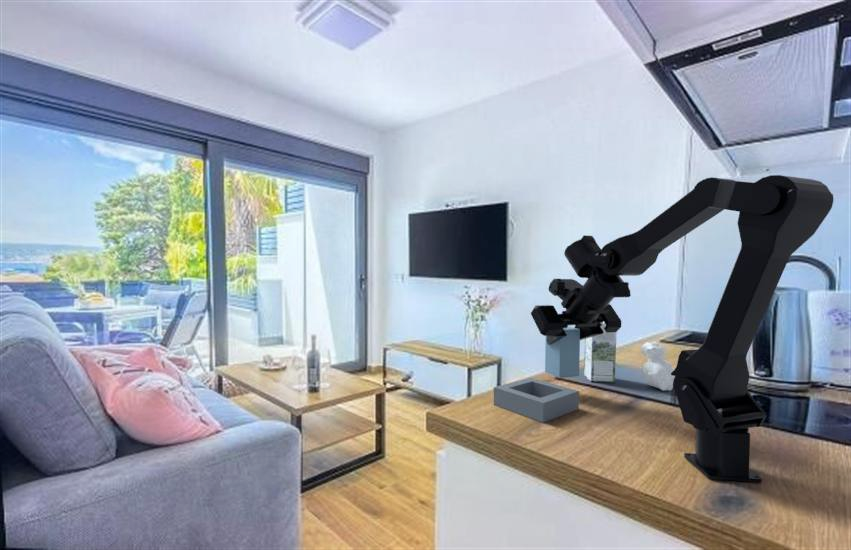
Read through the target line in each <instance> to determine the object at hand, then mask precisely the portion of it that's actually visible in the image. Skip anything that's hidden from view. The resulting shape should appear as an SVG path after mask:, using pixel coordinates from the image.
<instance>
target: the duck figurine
mask: <svg viewBox="0 0 851 550" xmlns="http://www.w3.org/2000/svg"><path fill="white" fill-rule="evenodd" d="M640 350H641V354H642V355H643V356H647V357H648V359H647V361H646V362H645V363H643V369H642V370H643V371H642V377H643V379H644V381H645V383H646V384H647V385H648V386H650V387H654V388H657V389H660V390H661V391H663V392H664V391H669V392H670V391H672V390H673V380H674V377H675V376H672V375H671V373H672V372H673V371H674V368H673V366H672V364H671V363H670V362H669V361H668V360H666V359H665V356H666V353H667V349H666V347H663V345H660V343H658V342H657V341H652V342H648V341H646V342H645V343H644V344H643V345H642V346H641V347H640Z"/></svg>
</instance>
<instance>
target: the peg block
mask: <svg viewBox="0 0 851 550" xmlns="http://www.w3.org/2000/svg"><path fill="white" fill-rule="evenodd" d="M564 331H565V333H566V335H567V336H565V337H564V338H562V339H560V340H558V341H556V342H554V343H552V344H550V345H548V343H547V341H546V340H547V336H545V349H544V350H545V355H544V357H545V358H544V372H545V373H547V374H549V375H550V376H551V375H552V376H554V377H555V378H558V379H562V378H563V379H564V378H572V377H580V357H581V356H580V355H581V354H580V353H581V352H580V350H581V349H580V348H581V340H580V329H577V328H574V327H572V326H568V327H567V328H566V329H565V330H564Z"/></svg>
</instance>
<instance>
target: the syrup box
mask: <svg viewBox="0 0 851 550" xmlns="http://www.w3.org/2000/svg"><path fill="white" fill-rule="evenodd" d="M605 327H606V324H605V323H604V321H603V323H602V326H601V328H602V330H603V334H601V335H596V336H593V337H589V338H586V339H584V357H583V358H584V364H583V376H584V377H585V376H586V377H587V378H586V377H585V378H586V379H587V380H588V381H590V382H591V381H594V383H595V382H596V383H615V381H616V357H617V356H616V355H617V332H618V331H617V332H609V333H606V331H605V329H604V328H605Z"/></svg>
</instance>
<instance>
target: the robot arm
mask: <svg viewBox="0 0 851 550" xmlns="http://www.w3.org/2000/svg"><path fill="white" fill-rule="evenodd" d="M833 206H834V194H833V193H832V192H831V191H830V189H829V188H828V186H827V185H826V184H824V183H823V182H822V181H820V180H816V179H812V178H804V177H797V176H791V175H790V176H788V175H782V174H781V175H780V174H776V175H774V174H773V175H771V174H770V175H768V176H765V177H762V178H760V179H759V180H757V181H755V182H749V181H738V180H735V179H728V178H720V177H711V176H710V177H707V178H705V179H702V180H700V181H698V182H697V183H696V184H695V185H694V188H693V189H692V190H690V191H689V192H688V193H687V194H685V195H684V196H682V197H681V198H680V199H679V200H677V201H676V202H675V203H673V204H672V205H671V206H669V207H668V208H667V209H665V210H664V211H662V213H660V214H659V215H657V216H655V218H653V219H652V220H650V221H649V222H648V223H647V224H645V225H644V226H643V227H642V228H640V229H639V230H637V231H635V232H633V233H629V234H627V235H624V236H619V237H618V238H616V239H613V240H612V241H610V242H608V243H606V244H604V245H603V247H602V248H601V247H600V246H599V244H598V243H597V242H596V239H595V238H594V237H593V235H583V236H582V237H581V238H580V239H578V240H575V241H574V242H572V243H570V244H569V245H568V246H567V247H566V248H565V250H564V256H565V258H566V259H567V261H568V263H569V265H570V266H571V267H572V269H573V271H574V272H575V273H576V275H577V276H578V277H579V278H581V279H585V278H586V279H587V280H586V281H585V282H584V284H581V283H580V282H579V281H578V280H575V279H572V278H553V279H552V280H551V282H550V283H549V286H548V292H549V293H550V294H551V295H553V296H555V297H558V298H559V299H560V300H561V302H560V305H561V307H562V308H563V309H565V310H562V312H561V313H558V311H557V309H556V308H555V305H552V304H546V305H545V304H543V305H539V304H538V305H535V306H534V307H533V309H532V311H531V312H530V315H531V317H532V319H533V321H534V323H535V325H536V327H537V329H538V332H539V333H540V335H542V336H544V337H546V336H547V340H546V339H545V342H546V341H547V343H548V345H550V344H552V343H554V342H556V341H558V340H560V339H562V338H564V337H565V336H567V335H566V333H565V331H564V330H565V329H566V328H567V327H572V326H574V327H573V328H577V329H580V341H583V340H585V339H586V338H589V337H593V336H596V335H601V334H603V330H602V328H601V326H602V323H603V321H604V323H605V324H606V327H605V328H604V329H605V331H606V333H609V332H618V331H619V330H620V329H621V328H622V320H621V318H620V316H619V315H618V314H617V312H616V311H615V309H614V308H613V306H612V305H611V304H610V303H611V302H612V301H613V299H615V298H630V297H631V296H632V295H631V290H630V288H629V284H630V283H629V281H624V280H623V278H622V277H623V276H626V277H627V276H629V277H631V276H635V277H636V276H641V275H643V274H644V273H645V272H646V271H648V269H650V267H652V265H654V264H656V262H657V259H658V257H659V254H660V253H662V251H664V250H665V249H666V248H668V247H669V246H671V245H672V244H674V243H676V242H677V241H678V240H680V239H682V238H683V237H684V236H686V235H688V234H690V233H691V232H692V231H695V229H697V228H698V227H700V226H701V225H703V224H704V223H707V221H709V220H710V219H712V218H713V217H716V216H717V215H718V214H720V213H721V212H723V211H724V210H728V211H733V212H739V214H738V218H737V219H738V220H737V228H738V232H739V237H740V242H741V245H740V250H739V252H738V255H737V257H736V260H735V263H734V264H733V267H732V271H731V273H730V275H729V278H728V281H727V284H726V286H725V287H724V291H723V292H722V293H723V294H722V295H721V298H720V300H719V302H718V306H717V308H716V311H715V312H714V316H713V318H712V321H711V323H710V326H709V329H708V331H707V333H706V336H705V339H704V341H703V342H702V345H701V346H700V347H699V348H697V349H687V350H686V349H684V350H681V351H680V353H679V355H678V357H677V358H678V359H677V363H676V366H675V368H674V369H673V372H672V373H671V375H672V376H675V377H674V380H673V389H672V390H673V391H674V392H675V394H676V395H675V396H676V399H677V401H678V406H679V409H680V412H681V417H682V419H683V420H682V421H684V423H686V424H688V425H691V426H693V428H694V429H695V444H694V446H695V447H694V448H695V449H694V450H695V453H690V452H685V453H684V454H683V455H684V456H683V457H684V458H685V460H687V461H689V463H691V464H692V465H693V466H694V467H695V468H696V469H697V470H699V471H700V472H701V473H702V474H703V475H704V476H705V477H706V478H708V479H711V480H716V481H717V480H720V481H737V482H751V483H752V482H753V483H754V482H755V483H762V482H763V478H762V476H760V475H758V474H757V473H756V472H755V471H753V470H752V469H750V463H751V462H750V461H751V459H750V458H751V457H750V455H751V433H750V432H749V430H750V429H751V428H760V427H762V425H763V424H764V422H765V420H766V418H767V416H768V414H767V413H766V412H765V410H764V409H763V408H762V407H761V405H760V404H759V403H758V402H757V401H756V400H755V398H754V397H753V395H751V393H750V392H749V391H748V386H749V381H750V377H751V376H750V372H749V366H748V362H747V355H748V352H749V351H750V348H751V346H752V343H753V341H754V339H755V336H756V334H757V333H758V330H759V328H760V325H761V323H762V321H763V318H764V316H765V314H766V312H767V310H768V308H769V305H770V302H771V301H772V298H773V296H774V294H775V291H776V289H777V287H778V284H779V282H780V280H781V277H782V275H783V273H784V271H785V268H786V266H787V264H788V261H789V259H790V257H791V256H792V255H793V254H794V253H795V252H796V251H797V250H798V249H799V248H801V246H803V245H804V244H805V243H807V241H809V240H810V238H812V237H813V235H815V233H816V232H817V230H818V229H819V227H821V225H822V223H823V221H824V220H825V219H826V217H827V216H828V214H829V213H830V211H831V209H832V208H833ZM621 276H622V277H621ZM719 410H721V411H719Z"/></svg>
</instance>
